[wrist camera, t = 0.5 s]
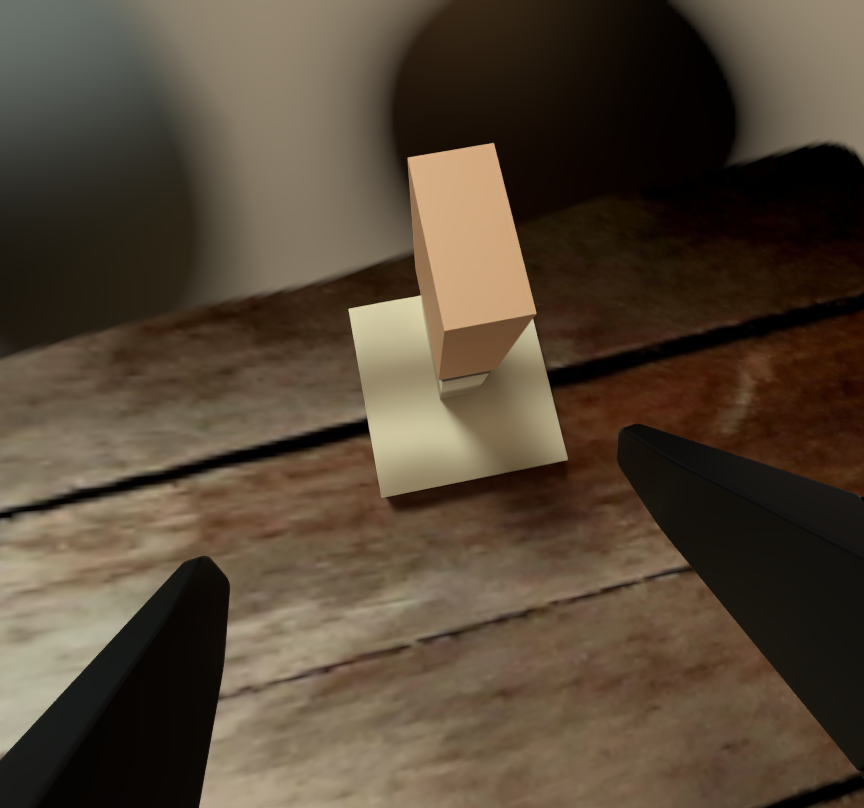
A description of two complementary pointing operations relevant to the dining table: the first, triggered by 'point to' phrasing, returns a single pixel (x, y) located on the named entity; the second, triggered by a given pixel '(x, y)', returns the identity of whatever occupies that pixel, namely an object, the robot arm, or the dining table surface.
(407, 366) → the cream square base plate
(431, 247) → the peach rectangular post
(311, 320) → the dining table surface
